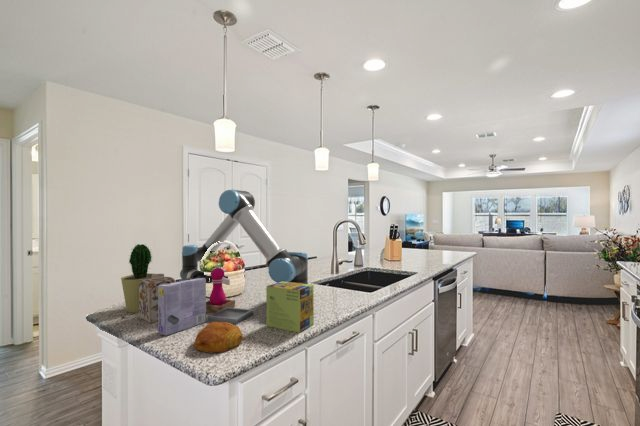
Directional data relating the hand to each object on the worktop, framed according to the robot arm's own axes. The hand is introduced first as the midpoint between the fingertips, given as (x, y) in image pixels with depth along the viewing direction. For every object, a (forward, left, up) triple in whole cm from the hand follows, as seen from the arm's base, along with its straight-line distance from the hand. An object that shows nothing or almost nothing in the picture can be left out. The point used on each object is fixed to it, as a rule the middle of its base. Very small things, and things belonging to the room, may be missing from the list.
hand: (215, 284), depth 150 cm
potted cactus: (+32, +11, -11) cm, 36 cm away
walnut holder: (-2, +1, -11) cm, 11 cm away
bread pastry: (-26, +35, -11) cm, 45 cm away
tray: (-15, +10, -11) cm, 21 cm away
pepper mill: (-2, +1, -11) cm, 11 cm away
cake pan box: (-4, +25, -11) cm, 27 cm away
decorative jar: (+15, +18, -11) cm, 26 cm away
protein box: (-42, +11, -11) cm, 45 cm away
